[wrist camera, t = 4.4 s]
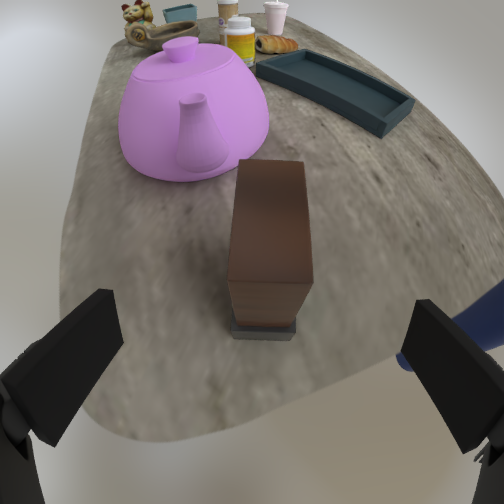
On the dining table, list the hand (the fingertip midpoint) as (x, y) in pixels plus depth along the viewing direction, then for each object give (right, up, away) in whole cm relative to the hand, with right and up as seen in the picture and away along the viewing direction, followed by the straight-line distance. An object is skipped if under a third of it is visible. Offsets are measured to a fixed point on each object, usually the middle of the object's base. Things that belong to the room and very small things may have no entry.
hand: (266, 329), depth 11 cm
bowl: (-21, +52, +40) cm, 69 cm away
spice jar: (-6, +51, +40) cm, 65 cm away
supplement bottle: (-3, +38, +33) cm, 51 cm away
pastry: (+4, +47, +38) cm, 60 cm away
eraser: (0, 0, +12) cm, 12 cm away
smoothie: (+6, +61, +45) cm, 76 cm away
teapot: (-7, +16, +21) cm, 27 cm away
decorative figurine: (-33, +65, +48) cm, 87 cm away
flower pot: (-21, +66, +48) cm, 84 cm away
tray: (+14, +30, +28) cm, 44 cm away
